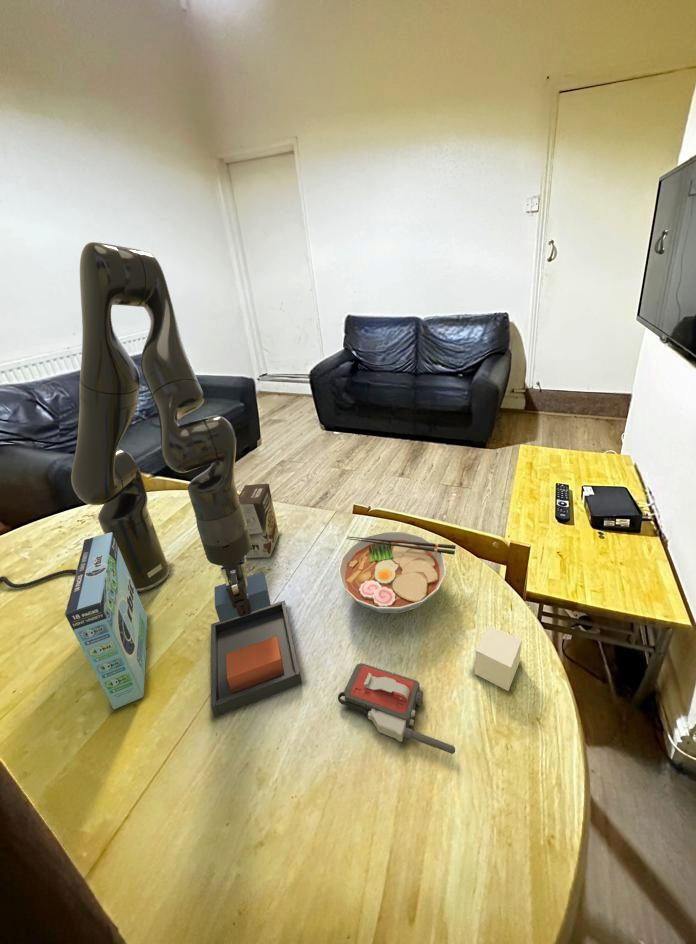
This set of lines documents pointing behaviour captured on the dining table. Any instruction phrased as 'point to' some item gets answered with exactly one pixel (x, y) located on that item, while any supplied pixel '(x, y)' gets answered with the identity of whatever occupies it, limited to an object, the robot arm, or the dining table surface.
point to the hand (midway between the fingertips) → (244, 602)
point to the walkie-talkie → (388, 703)
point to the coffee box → (259, 519)
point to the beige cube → (498, 657)
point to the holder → (245, 634)
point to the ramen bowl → (393, 571)
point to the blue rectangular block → (256, 597)
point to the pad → (254, 664)
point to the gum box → (109, 620)
